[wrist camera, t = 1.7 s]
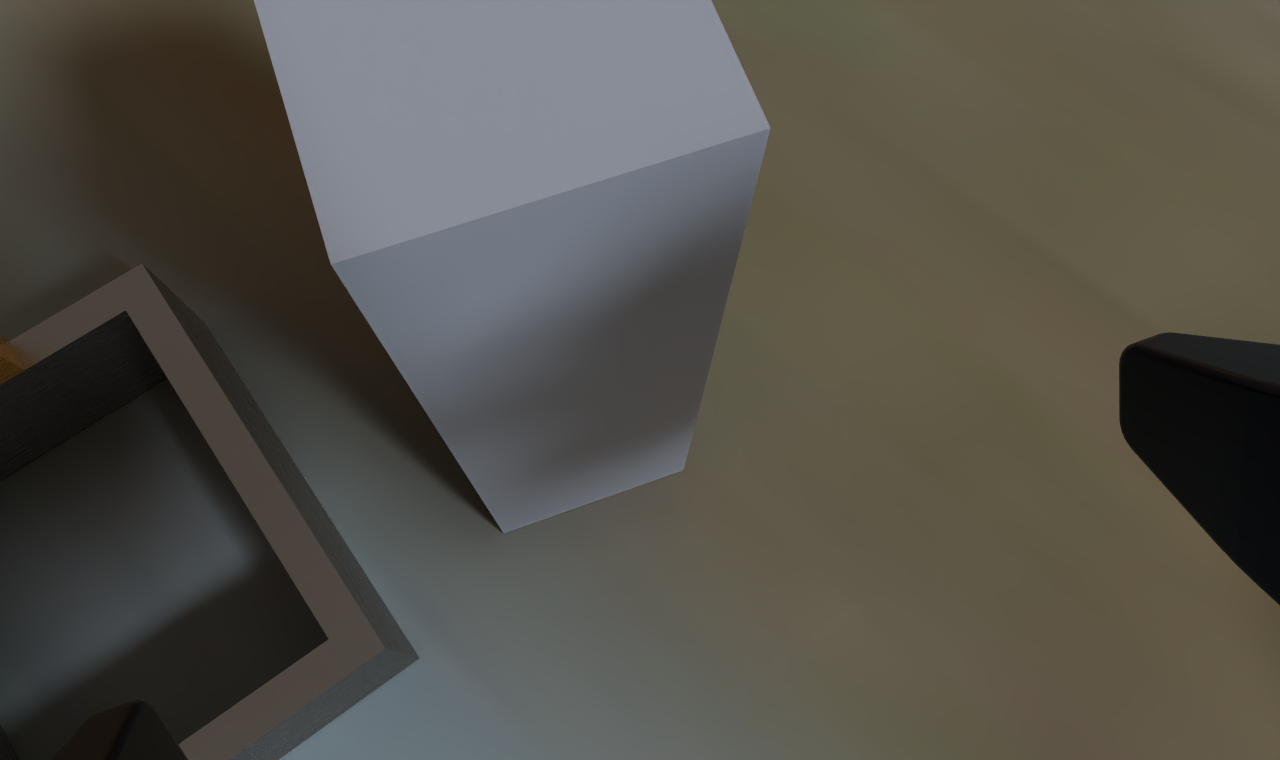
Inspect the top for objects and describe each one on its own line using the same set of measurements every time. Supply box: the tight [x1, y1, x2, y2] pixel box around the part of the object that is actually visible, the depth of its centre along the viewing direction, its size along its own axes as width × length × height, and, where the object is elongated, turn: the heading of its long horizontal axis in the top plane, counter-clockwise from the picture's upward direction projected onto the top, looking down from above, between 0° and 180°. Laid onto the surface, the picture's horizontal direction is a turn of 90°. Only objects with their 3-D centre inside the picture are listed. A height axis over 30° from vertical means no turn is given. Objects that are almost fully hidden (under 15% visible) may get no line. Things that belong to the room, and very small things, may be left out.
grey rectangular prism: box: [254, 0, 770, 533], centre depth 16 cm, size 5×4×13 cm
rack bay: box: [0, 264, 419, 760], centre depth 18 cm, size 9×8×4 cm
